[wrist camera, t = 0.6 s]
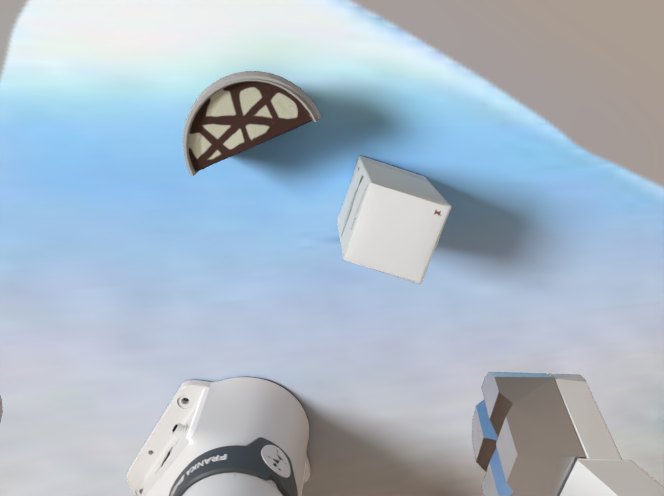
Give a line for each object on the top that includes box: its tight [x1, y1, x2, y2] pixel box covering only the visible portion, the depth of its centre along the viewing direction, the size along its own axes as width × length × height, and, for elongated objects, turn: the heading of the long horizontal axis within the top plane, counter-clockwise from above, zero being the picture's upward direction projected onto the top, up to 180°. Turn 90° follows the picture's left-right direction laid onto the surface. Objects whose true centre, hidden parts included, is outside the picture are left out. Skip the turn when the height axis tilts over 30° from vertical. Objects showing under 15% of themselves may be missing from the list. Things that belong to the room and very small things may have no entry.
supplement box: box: [337, 156, 452, 284], centre depth 56 cm, size 7×7×13 cm
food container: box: [183, 71, 322, 176], centre depth 54 cm, size 12×6×10 cm, turn 113°
